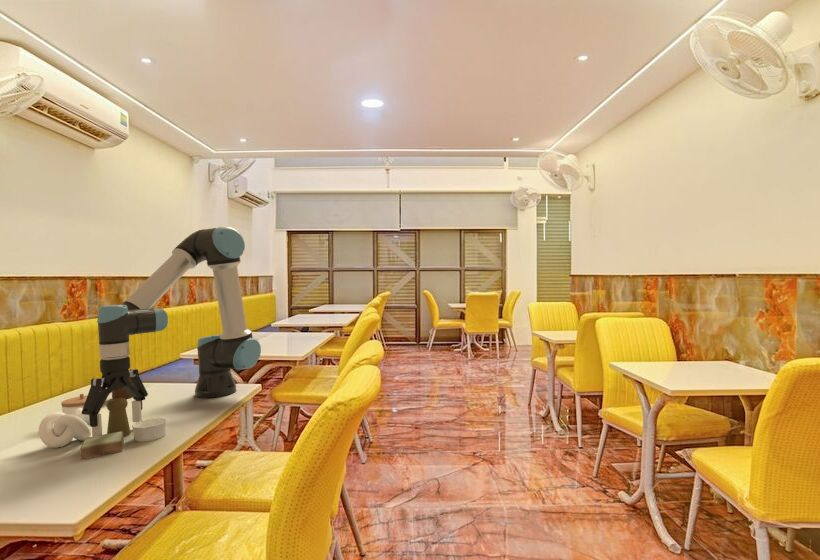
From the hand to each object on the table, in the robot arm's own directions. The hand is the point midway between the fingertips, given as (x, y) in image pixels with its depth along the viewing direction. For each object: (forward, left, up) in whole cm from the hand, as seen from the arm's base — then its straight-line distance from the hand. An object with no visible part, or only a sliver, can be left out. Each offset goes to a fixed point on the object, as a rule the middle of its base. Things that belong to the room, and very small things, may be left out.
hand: (118, 429), depth 135 cm
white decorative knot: (+12, -2, -2) cm, 12 cm away
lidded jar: (+11, -23, -2) cm, 26 cm away
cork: (0, 0, -2) cm, 2 cm away
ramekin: (-8, +7, -2) cm, 11 cm away
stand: (+3, +11, -2) cm, 12 cm away
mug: (+1, -51, -2) cm, 51 cm away
